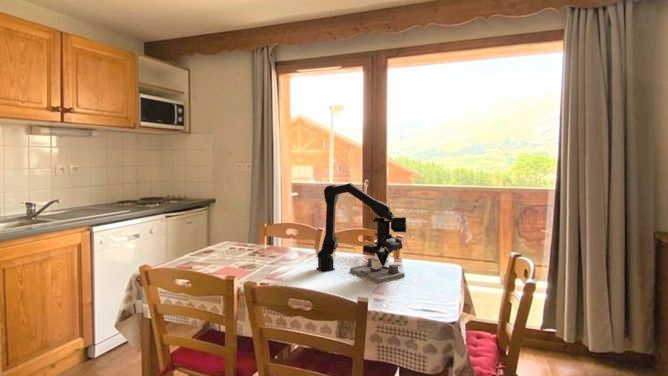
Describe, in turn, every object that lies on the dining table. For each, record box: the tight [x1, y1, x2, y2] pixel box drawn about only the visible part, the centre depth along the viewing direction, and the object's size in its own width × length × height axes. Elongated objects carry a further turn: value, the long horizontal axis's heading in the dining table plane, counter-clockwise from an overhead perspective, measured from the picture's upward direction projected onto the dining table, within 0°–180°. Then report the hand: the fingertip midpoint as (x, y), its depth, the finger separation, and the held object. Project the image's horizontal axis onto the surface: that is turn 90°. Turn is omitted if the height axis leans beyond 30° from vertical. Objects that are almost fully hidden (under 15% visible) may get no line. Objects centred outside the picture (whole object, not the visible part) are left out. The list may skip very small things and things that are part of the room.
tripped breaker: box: [370, 259, 381, 272], centre depth 180 cm, size 3×4×5 cm
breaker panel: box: [349, 257, 405, 284], centre depth 180 cm, size 15×20×5 cm
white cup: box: [374, 239, 390, 262], centre depth 205 cm, size 8×8×10 cm
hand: (383, 265), depth 182 cm, fingers closed
